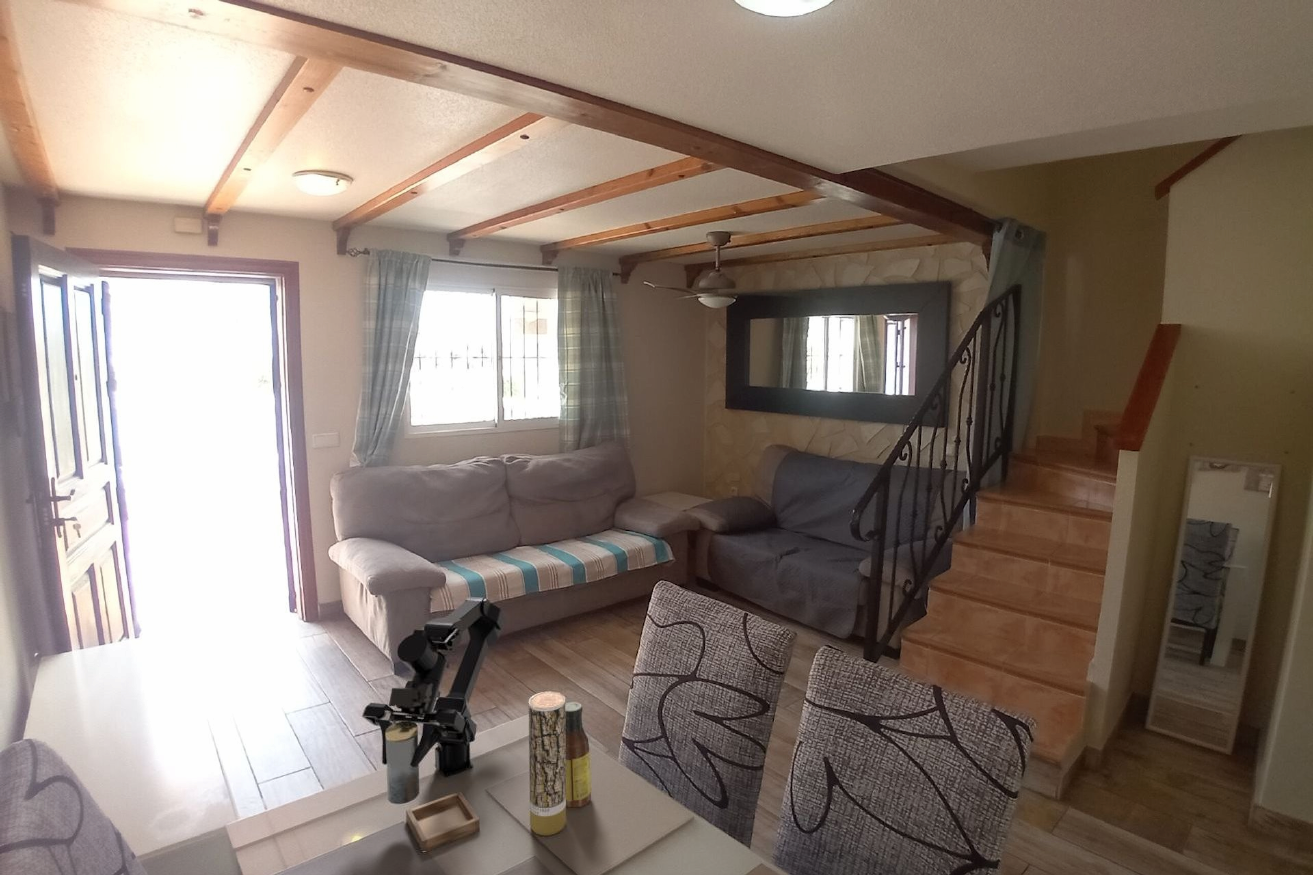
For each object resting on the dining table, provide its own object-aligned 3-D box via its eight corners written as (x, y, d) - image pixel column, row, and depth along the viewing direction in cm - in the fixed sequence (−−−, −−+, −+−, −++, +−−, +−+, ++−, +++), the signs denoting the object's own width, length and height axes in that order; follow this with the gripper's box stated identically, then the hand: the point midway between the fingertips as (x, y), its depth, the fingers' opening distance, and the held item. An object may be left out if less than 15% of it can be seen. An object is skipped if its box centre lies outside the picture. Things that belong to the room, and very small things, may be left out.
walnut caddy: (460, 801, 136) (460, 791, 135) (479, 830, 127) (479, 819, 127) (406, 821, 129) (406, 810, 129) (422, 852, 121) (422, 841, 121)
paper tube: (558, 839, 124) (558, 710, 122) (524, 834, 126) (523, 706, 124) (570, 816, 131) (570, 693, 129) (537, 811, 132) (536, 689, 130)
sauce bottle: (593, 791, 139) (593, 699, 137) (587, 810, 133) (587, 714, 131) (562, 789, 140) (562, 697, 138) (555, 808, 134) (554, 712, 132)
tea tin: (409, 781, 131) (407, 718, 129) (425, 793, 127) (423, 727, 126) (381, 795, 126) (379, 730, 125) (398, 807, 123) (395, 740, 122)
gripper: (365, 663, 130) (332, 748, 120) (457, 669, 127) (430, 758, 117) (389, 683, 138) (359, 765, 128) (475, 690, 136) (451, 774, 126)
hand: (399, 765), depth 125 cm, fingers closed on tea tin, 6 cm apart
